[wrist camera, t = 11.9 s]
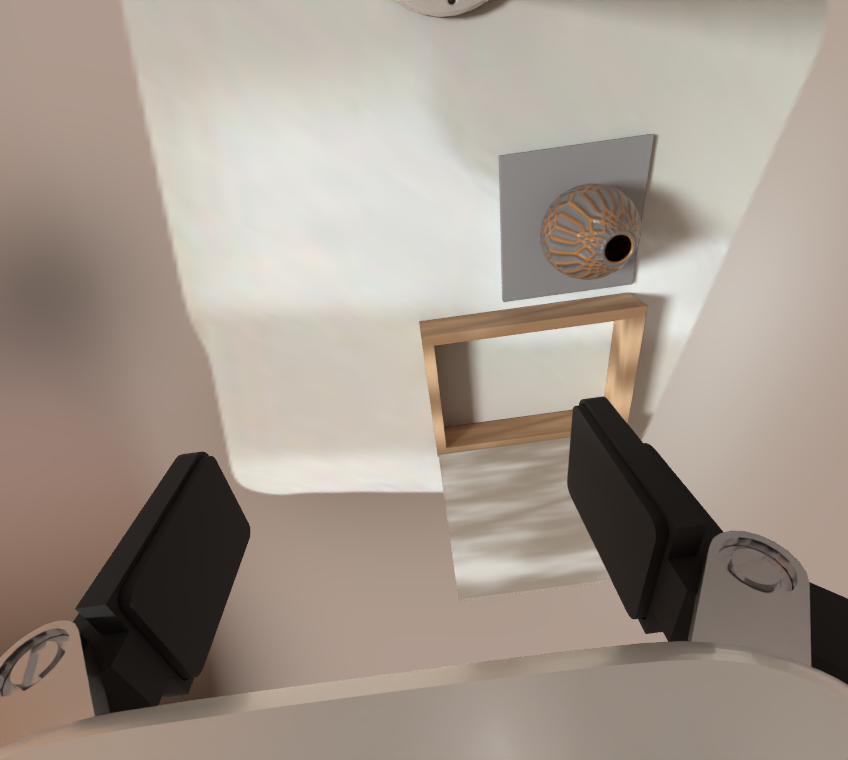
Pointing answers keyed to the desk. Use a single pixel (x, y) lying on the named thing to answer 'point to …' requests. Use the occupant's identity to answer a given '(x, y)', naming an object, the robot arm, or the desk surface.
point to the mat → (537, 189)
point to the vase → (590, 231)
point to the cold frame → (523, 460)
